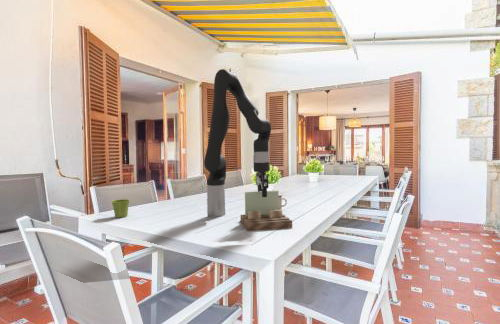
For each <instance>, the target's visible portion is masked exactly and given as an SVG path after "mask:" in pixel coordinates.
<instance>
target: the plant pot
mask: <svg viewBox="0 0 500 324" xmlns="http://www.w3.org/2000/svg"><path fill="white" fill-rule="evenodd" d="M130 201H131V200H130V199H125V198H123V199H116V200H111V201H110V203H111V205H112V207H113V212H114V217H115V218H118V219H119V218H126V217H128V215H129V213H128V212H129V204H130Z"/></svg>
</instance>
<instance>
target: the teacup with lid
mask: <svg viewBox="0 0 500 324" xmlns="http://www.w3.org/2000/svg"><path fill="white" fill-rule="evenodd" d="M271 191H277V190H275V189H272V190H271ZM282 200H284V201H285V202H284V203H285V204H284V205H282V203H283V201H282ZM287 204H288V201H287V198H285V197H283V196H282V194H281V193H279V210H282V208H283V207H286V206H287ZM282 211H283V210H282Z"/></svg>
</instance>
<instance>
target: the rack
mask: <svg viewBox="0 0 500 324" xmlns="http://www.w3.org/2000/svg"><path fill="white" fill-rule="evenodd" d="M240 223H241V224H242V225H243V227H244V229H245V230H246V231H248V232H253V231H267V230H281V229H293V220H292V219H290V218H289V217H288V216H286V214H284V213H282V217H275V218H270V215H261V218H260V219H248V216H245V214H240Z"/></svg>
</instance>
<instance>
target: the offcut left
mask: <svg viewBox="0 0 500 324" xmlns="http://www.w3.org/2000/svg"><path fill="white" fill-rule="evenodd" d="M260 218H261V211H249V212H248V219H260Z"/></svg>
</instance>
